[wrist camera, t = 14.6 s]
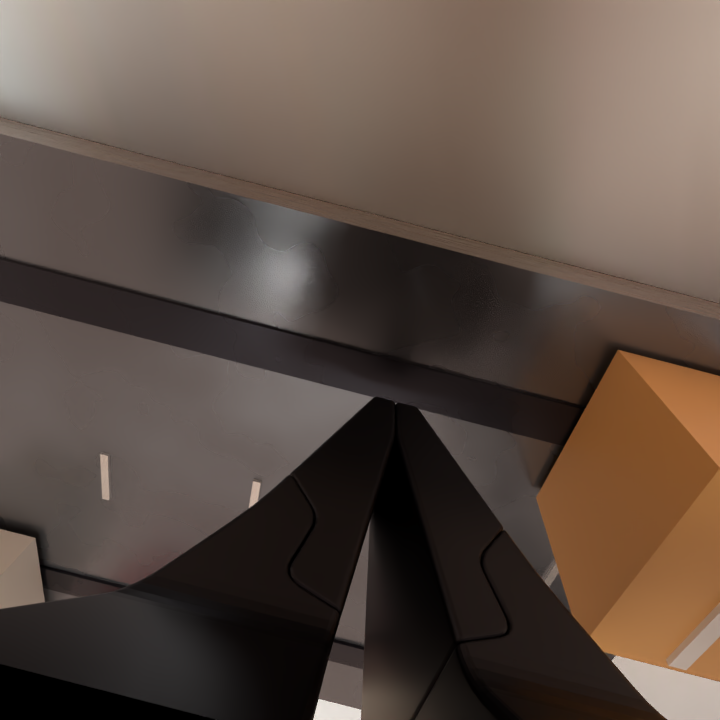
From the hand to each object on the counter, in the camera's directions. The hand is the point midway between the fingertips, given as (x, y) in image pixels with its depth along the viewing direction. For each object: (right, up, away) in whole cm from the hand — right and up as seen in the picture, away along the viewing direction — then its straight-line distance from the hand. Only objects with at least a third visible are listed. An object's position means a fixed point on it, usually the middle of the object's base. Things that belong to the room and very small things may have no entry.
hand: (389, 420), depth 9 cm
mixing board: (-3, -2, +5) cm, 6 cm away
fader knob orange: (+5, -1, +1) cm, 6 cm away
